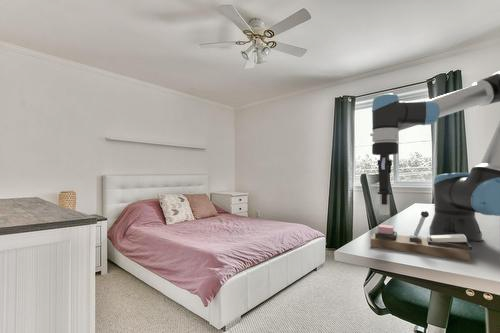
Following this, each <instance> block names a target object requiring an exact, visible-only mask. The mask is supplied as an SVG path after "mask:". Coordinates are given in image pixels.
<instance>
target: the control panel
mask: <svg viewBox="0 0 500 333" xmlns="http://www.w3.org/2000/svg"><path fill="white" fill-rule="evenodd" d="M370 247H372V248H380V249H386V250H391V251H392V250H393V251H400V252H406V253H407V252H408V253H413V254H419V255H427V256H433V257H441V258H447V259H455V260H461V261H467V262H468V261H469V262H470V251H473V246H472V245H471V244H470V241H467V242H432V239H431V237H428V236H427V237H422V236H419V235H418V236H414V235H409V236H408V235H403V234H402V235H401V234H398V232H397V231H394V232H393V234H385V233H379V229H376V231H375V232H374V233H373V234H372V236H371V238H370Z"/></svg>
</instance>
